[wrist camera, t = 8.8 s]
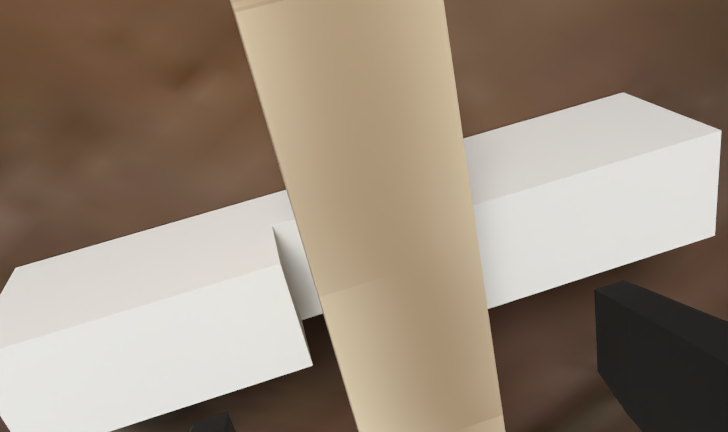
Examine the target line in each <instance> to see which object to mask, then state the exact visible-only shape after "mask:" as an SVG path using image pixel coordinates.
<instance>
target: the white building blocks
mask: <svg viewBox="0 0 728 432" xmlns="http://www.w3.org/2000/svg"><path fill="white" fill-rule="evenodd" d="M463 141H464V148H465V155H466V161H467V168H468V175H469V182H470V189H471V196H472V203H473V210H474V217H475V224H476V231H477V238H478V245H479V252H480V259H481V266H482V273H483V280H484V287H485V294H486V301H487V308H488V309H489V308H493V307H496V306H499V305H502V304H505V303H508V302H511V301H514V300H517V299H520V298H523V297H527V296H530V295H533V294H536V293H539V292H542V291H545V290H548V289H551V288H554V287H557V286H561V285H564V284H567V283H570V282H573V281H576V280H579V279H582V278H585V277H588V276H591V275H595V274H598V273H601V272H604V271H607V270H610V269H613V268H616V267H619V266H622V265H625V264H628V263H632V262H635V261H638V260H641V259H644V258H647V257H650V256H653V255H656V254H659V253H662V252H666V251H669V250H672V249H675V248H678V247H681V246H684V245H687V244H690V243H693V242H696V241H700V240H703V239H706V238H709V237H712V236H715V224H716V209H717V193H718V177H719V161H720V146H721V130H719V129H716V128H714V127H711V126H709V125H706V124H703V123H701V122H698V121H696V120H693V119H690V118H688V117H685V116H683V115H680V114H678V113H675V112H672V111H670V110H667V109H665V108H662V107H659V106H657V105H654V104H652V103H649V102H647V101H644V100H641V99H639V98H636V97H634V96H631V95H628V94H626V93H619V94H616V95H612V96H609V97H605V98H602V99H599V100H595V101H592V102H588V103H585V104H581V105H578V106H574V107H571V108H567V109H564V110H560V111H557V112H554V113H550V114H547V115H543V116H540V117H536V118H533V119H529V120H526V121H522V122H519V123H515V124H512V125H509V126H505V127H502V128H498V129H495V130H491V131H488V132H484V133H481V134H477V135H474V136H470V137H467V138H464V139H463ZM320 314H323V312H322V308H321V305H320V302H319V298H318V295H317V291H316V288H315V285H314V281H313V278H312V275H311V271H310V268H309V265H308V261H307V258H306V254H305V251H304V248H303V244H302V241H301V238H300V234H299V231H298V228H297V224H296V221H295V217H294V214H293V211H292V207H291V204H290V201H289V197H288V194H287V191H286V190H284V191H280V192H277V193H273V194H270V195H266V196H263V197H259V198H256V199H252V200H249V201H245V202H242V203H239V204H235V205H232V206H228V207H225V208H221V209H218V210H214V211H211V212H207V213H204V214H200V215H197V216H194V217H190V218H187V219H183V220H180V221H176V222H173V223H169V224H166V225H162V226H159V227H155V228H152V229H149V230H145V231H142V232H138V233H135V234H131V235H128V236H124V237H121V238H117V239H114V240H110V241H107V242H104V243H100V244H97V245H93V246H90V247H86V248H83V249H79V250H76V251H72V252H69V253H65V254H62V255H59V256H55V257H52V258H48V259H45V260H41V261H38V262H34V263H31V264H27V265H24V266H20V267H17V268H15V270H14V272H13V273H12V275H11V277H10V279H9V280H8V282H7V284H6V286H5V287H4V289H3V291H2V293H1V294H0V416H1V418H2V419H3V421H4V422H5V424H6V425H7V427H8V428H9V430H10V431H11V432H110V431H113V430H116V429H119V428H122V427H125V426H128V425H131V424H134V423H137V422H140V421H144V420H147V419H150V418H153V417H156V416H159V415H162V414H165V413H168V412H171V411H174V410H178V409H181V408H184V407H187V406H190V405H193V404H196V403H199V402H202V401H205V400H208V399H212V398H215V397H218V396H221V395H224V394H227V393H230V392H233V391H236V390H239V389H242V388H245V387H249V386H252V385H255V384H258V383H261V382H264V381H267V380H270V379H273V378H276V377H279V376H283V375H286V374H289V373H292V372H295V371H298V370H301V369H304V368H307V367H310V366H313V364H312V359H311V355H310V351H309V347H308V343H307V339H306V335H305V331H304V327H303V323H302V320H304V319H307V318H310V317H313V316H316V315H320Z"/></svg>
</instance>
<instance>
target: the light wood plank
mask: <svg viewBox="0 0 728 432" xmlns="http://www.w3.org/2000/svg"><path fill="white" fill-rule="evenodd" d="M230 3H231V7H232V10H233V13H234V17H235V20H236V23H237V27H238V30H239V34H240V37H241V40H242V44H243V47H244V50H245V54H246V57H247V60H248V64H249V67H250V71H251V74H252V77H253V81H254V84H255V87H256V91H257V94H258V97H259V101H260V104H261V107H262V111H263V114H264V118H265V121H266V124H267V128H268V131H269V134H270V138H271V141H272V144H273V148H274V151H275V155H276V158H277V161H278V165H279V168H280V171H281V174H282V178H283V181H284V184H285V187H286V191H287V194H288V197H289V201H290V204H291V207H292V211H293V214H294V217H295V221H296V224H297V228H298V231H299V234H300V238H301V241H302V244H303V248H304V251H305V254H306V258H307V261H308V265H309V268H310V271H311V275H312V278H313V281H314V285H315V288H316V291H317V295H318V298H319V302H320V305H321V308H322V312H323V316H324V319H325V323H326V326H327V329H328V333H329V336H330V339H331V343H332V346H333V349H334V353H335V356H336V360H337V363H338V366H339V370H340V373H341V376H342V380H343V383H344V386H345V390H346V393H347V396H348V400H349V403H350V407H351V410H352V413H353V416H354V420H355V423H356V426H357V430H358V432H505V426H504V419H503V412H502V405H501V398H500V391H499V384H498V377H497V370H496V363H495V356H494V349H493V343H492V336H491V329H490V322H489V315H488V308H487V301H486V294H485V287H484V280H483V273H482V266H481V259H480V252H479V245H478V238H477V231H476V224H475V217H474V210H473V203H472V196H471V189H470V182H469V175H468V168H467V161H466V155H465V148H464V141H463V134H462V127H461V120H460V113H459V106H458V99H457V92H456V85H455V78H454V71H453V64H452V57H451V50H450V43H449V36H448V29H447V22H446V15H445V8H444V1H443V0H230Z"/></svg>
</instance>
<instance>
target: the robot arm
mask: <svg viewBox="0 0 728 432" xmlns="http://www.w3.org/2000/svg"><path fill="white" fill-rule="evenodd" d="M594 292H595V316H596V339H597V363H598V372H599V373H600V375H601V376H602V378H603V379H604V381H605V382H606V384H607V385H608V387H609V388H610V390H611V391H612V393H613V394H614V396H615V397H616V398H617V400H618V401H619V403H620V404H621V405H622V407H623V408H624V410H625V411H626V412H627V414H628V415H629V416H630V418H631V419H632V420H633V421H634V422H635V423H636V424H637V426H638V427H639V428H640V429H641V430H642V431H643V432H728V322H727V321H724V320H722V319H719V318H717V317H714V316H711V315H709V314H706V313H704V312H701V311H699V310H696V309H694V308H692V307H689V306H687V305H684V304H682V303H679V302H677V301H674V300H672V299H670V298H667V297H665V296H662V295H660V294H657V293H655V292H652V291H650V290H647V289H645V288H642V287H640V286H637V285H634V284H631V283H629V282H626V281H620V282H617V283H614V284H611V285H608V286H605V287H602V288H599V289H596V290H594ZM189 432H235V429H234V427H233V425H232V422H231V420H230V417H229V415H228V413H227V412H225V413H222V414H219V415H216V416H213V417H210V418H207V419H204V420H201V421H198V422H195V423H193V425H192V426H191V428H190V430H189Z"/></svg>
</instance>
